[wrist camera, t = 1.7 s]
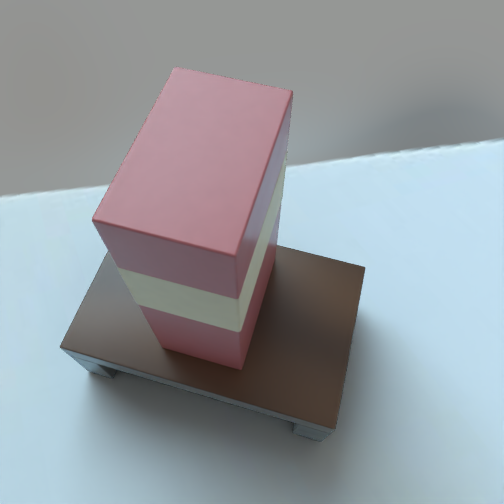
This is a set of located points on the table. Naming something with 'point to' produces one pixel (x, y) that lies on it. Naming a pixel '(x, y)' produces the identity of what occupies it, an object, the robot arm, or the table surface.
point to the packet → (201, 211)
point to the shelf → (260, 349)
